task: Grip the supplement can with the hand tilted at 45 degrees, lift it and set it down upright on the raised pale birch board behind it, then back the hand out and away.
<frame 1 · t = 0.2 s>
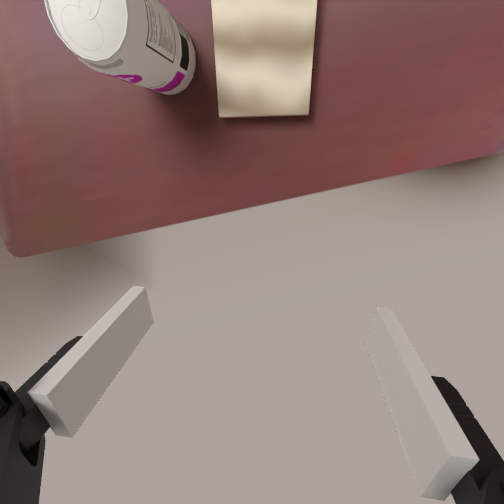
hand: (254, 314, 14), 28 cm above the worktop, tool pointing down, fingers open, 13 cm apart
supplement can: (168, 60, 33), on the worktop
birch board: (264, 44, 30), on the worktop
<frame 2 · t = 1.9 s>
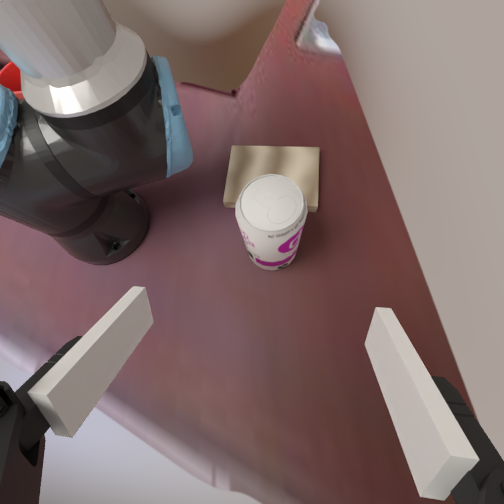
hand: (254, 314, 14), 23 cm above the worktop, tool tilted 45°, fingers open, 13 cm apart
supplement can: (271, 248, 40), on the worktop
birch board: (272, 180, 44), on the worktop
flower pot: (66, 116, 54), on the worktop
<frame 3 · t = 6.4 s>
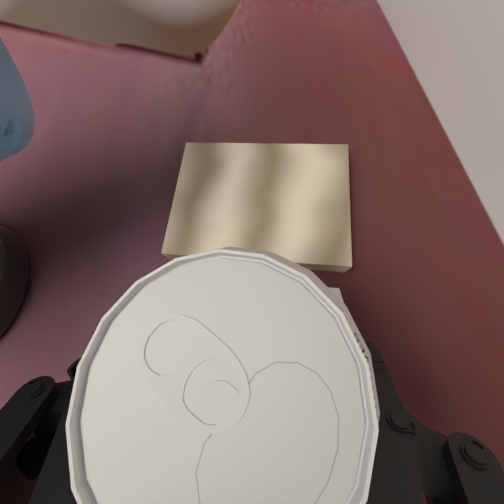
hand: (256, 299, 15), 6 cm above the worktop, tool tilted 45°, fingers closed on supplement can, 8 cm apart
supplement can: (258, 349, 20), on the worktop, touching gripper
birch board: (259, 207, 24), on the worktop
when the fingers open (9 cm above the worktop, at t = 11.8 s): supplement can drops 1 cm, resting on birch board.
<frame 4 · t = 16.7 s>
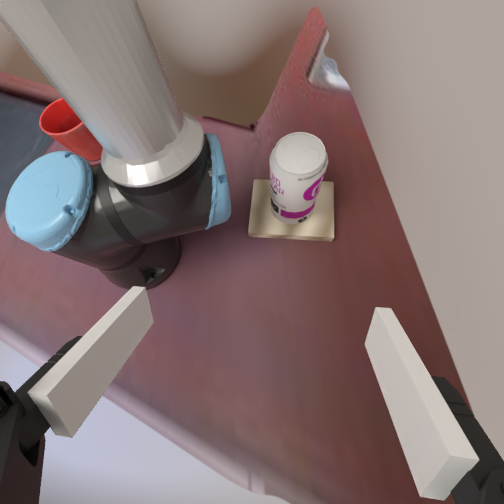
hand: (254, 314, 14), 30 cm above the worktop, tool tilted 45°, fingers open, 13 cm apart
supplement can: (291, 207, 47), point 2 cm above the worktop, touching birch board
birch board: (291, 211, 49), on the worktop
flower pot: (96, 148, 59), on the worktop
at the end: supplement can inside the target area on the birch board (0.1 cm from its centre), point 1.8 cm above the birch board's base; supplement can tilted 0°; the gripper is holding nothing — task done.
